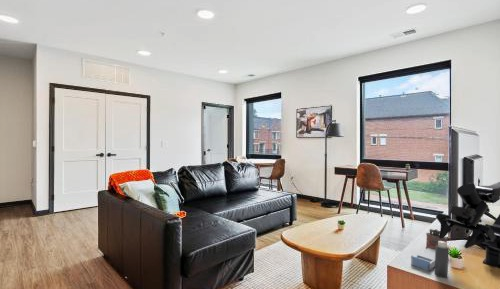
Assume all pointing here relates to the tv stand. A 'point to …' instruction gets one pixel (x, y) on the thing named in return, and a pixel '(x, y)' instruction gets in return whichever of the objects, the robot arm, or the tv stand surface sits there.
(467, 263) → the tv stand surface
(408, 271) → the tv stand surface
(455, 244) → the tv stand surface
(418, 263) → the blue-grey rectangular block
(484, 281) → the tv stand surface
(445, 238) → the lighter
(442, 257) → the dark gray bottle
